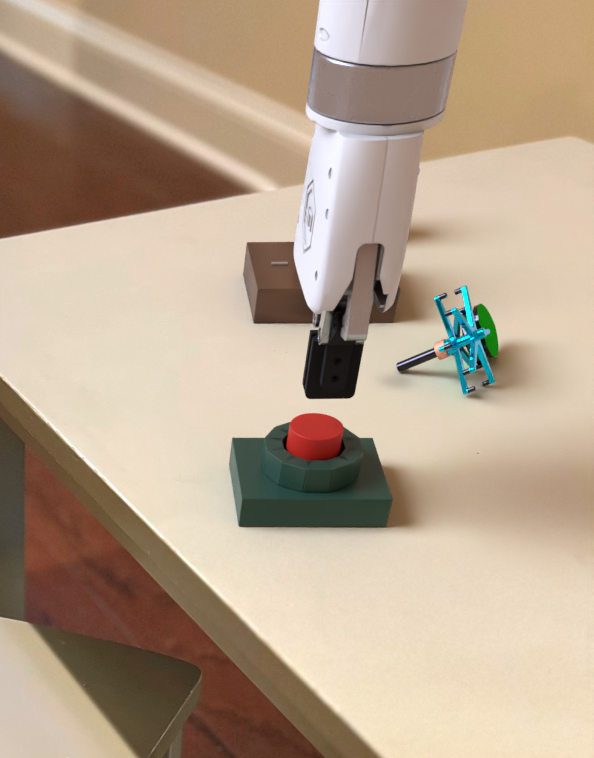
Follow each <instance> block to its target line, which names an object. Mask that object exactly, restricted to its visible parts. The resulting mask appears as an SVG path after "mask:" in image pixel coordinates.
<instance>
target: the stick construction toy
mask: <svg viewBox="0 0 594 758" xmlns="http://www.w3.org/2000/svg"><path fill="white" fill-rule="evenodd" d="M453 293H454V295H456V296H458V295H460V294H462V300H463V305H464V306H463V307H461V308H458V307H457V306H456V307H453V308H451V309H449V310H446V308H445V306H444V303H443V301H442V300H445V299H446V298H447V299H448V294H447V292H443V293H440V294H439V295H436V296H434V297H433V300H434V303H435V306H436V308H437V311H438V314H439V316H440V319H441V321H442V324H443V327H444V329H445V331H446V334H447V337H448V338H444V339H441V340H439V341H436V342H434V345H433V347H432V348H430V349H427V350H425V351H423V352H420V353H417V354H415V355H413V356H410V357H408V358H405V359H403V360H400V361H398V362H397V363H396V365H395V367H396V369H397V372H399V373H402V372H404V371H406V370H409V369H412V368H414V367H416V366H417V367H418V366H419V365H421V364H424V363H426V362H429V361H431V360H434V359H436V358H437V359H438V360H439V361H442V360H445V359H447V358H449V357H451V356H452V355H453V357H454V360H455V365H456V370H457V374H458V379H459V384H460V387H461V392H462V395H464V396H465V395H469V394H470V393H473V392H476V390H477V388H476V386H475V385H472V386H470V387H469V386H468V380H467V375H470V374H472V373H475V372H476V371H477V370H481V369H482V368H483V371H484V372H485V373H484V374H485V375H486V378H487V380H484V381H482V382H481V385H482V387H486V386H489V385H492V384H495V383H496V378H495V376H494V373H493V370H492V368H491V365H490V363H489V360H492V359H494V358H497V357H498V356H499V338H498V333H497V332H498V331H497V328H496V324H495V321H494V319H493V317H492V315H491V313H490V312H489V310H488V308H487V307H486V306H485V305H484V304H483V303H478V304H476V305H472V302H471V296H470V293H469V289H468V286H467V284H466V285H463V286H460V287H459V288H456V289H454V290H453ZM452 315H453V324H452V322H451V319H450V316H452ZM461 333H462V335H461ZM488 359H489V360H488ZM464 363H465V364H466V365H467V367H468V368H466V369H465V366H464Z"/></svg>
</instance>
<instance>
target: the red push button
mask: <svg viewBox="0 0 594 758" xmlns="http://www.w3.org/2000/svg"><path fill="white" fill-rule="evenodd" d="M289 422H290V426H289V432H288V438H287V444H286V448H287V451H288V452H289V453H291V454H292V455H293V456H295V457H299V458H302V459H306V460H315V461H326V460H329V459H332V458H335V457H337V455H338V454H339V452H340V447H341V442H342V437H343V432H344V427H345V426H344V424H343V423H342V421H340V420H339V419H338V418H336V417H334V416H332V415H329V414H325V413H319V412H307V413H302V414H299V415H296V416H295V417H293V418H292V419H291V420H290V421H289Z"/></svg>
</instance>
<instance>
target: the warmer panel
mask: <svg viewBox="0 0 594 758" xmlns="http://www.w3.org/2000/svg"><path fill="white" fill-rule="evenodd" d="M245 246H246V247H245V253H244V261H243V272H242V275H243V276H242V277H243V280H244V285H245V290H246V294H247V299H248V303H249V304H248V305H249V308H250V309H249V310H250V313H251V317H252V322H253V324H269V323H270V324H279V323H280V324H281V323H282V324H287V323H288V324H291V323H292V324H293V323H295V324H296V323H297V324H298V323H299V324H301V323H302V324H303V323H304V324H307V323H308V324H309V323H312V324H313V311H312V310H311V309H310V308H309V306H308V305H307V303H306V300H305V297H304V294H303V290H302V287H301V284H300V280H299V277H298V273H297V269H296V265H295V261H294V241H247V242H246V245H245ZM401 289H402V288H401V286H400V285H399V286H398V290H397V293H396V297H395V300H394V303H393V305H392V306H391V307H390V308H389V309H388V310H387V311H385V312H383V313H381V312H380V311H379V310H378V308H377V306H376V303H375V300H374V301H373V305H372V310H371V314H370V319H369V323H394V321H395V317H396V311H397V308H398V303H399V298H400V294H401Z"/></svg>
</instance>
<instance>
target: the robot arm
mask: <svg viewBox="0 0 594 758" xmlns="http://www.w3.org/2000/svg"><path fill="white" fill-rule="evenodd" d="M468 2H469V0H319V1H318V9H317V10H318V11H317V18H316V25H315V32H314V41H313V48H312V58H311V66H310V74H309V81H308V87H307V89H308V90H307V96H306V103H305V110H304V111H305V115H306V117H307V118H308V120H309V121H311V122H313V123H314V128H313V134H312V139H311V144H310V149H309V153H308V159H307V165H306V170H305V177H304V182H303V187H302V195H301V199H300V200H301V201H300V206H299V212H298V216H297V217H298V218H297V224H296V228H295V236H294V241H293V242H294V261H295V265H296V269H297V273H298V277H299V280H300V284H301V287H302V290H303V294H304V297H305V300H306V303H307V305H308V306H309V308H310V309H311V310H312V311H313V323H312V328H313V329H310V330H309V334H308V341H307V347H306V354H305V361H304V369H303V374H302V381H301V382H302V386H303V387H302V388H303V390H304V396H305V398H306V399H308V400H337V399H338V400H346V399H347V400H348V399H352V398H353V397H355V394H356V391H357V390H356V389H357V383H358V378H359V374H360V368H361V362H362V357H363V351H364V346H365V342H366V341H367V339H368V334H369V327H370V322H369V319H370V314H371V310H372V305H373V301H374V300H375V303H376V306H377V308H378V310H379V311H380V312H381V313H383V312H385V311H387V310H388V309H389V308H390V307H391V306H392V305H393V303H394V300H395V297H396V293H397V290H398V286H400V281H401V276H402V272H403V267H404V263H405V258H406V257H405V256H406V252H407V245H408V241H409V235H410V229H411V224H412V219H413V212H414V205H415V199H416V192H417V185H418V180H419V175H420V171H421V169H420V165H421V158H422V151H423V143H424V136H425V131H426V130H429V129H432V128H433V127H436V126H437V125H439V124H440V123H441V122H442V121H443V119H444V117H445V112H446V107H447V103H448V99H449V94H450V89H451V84H452V78H453V74H454V69H455V65H456V60H457V55H458V49H459V46H460V40H461V35H462V30H463V25H464V20H465V15H466V11H467V6H468Z"/></svg>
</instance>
